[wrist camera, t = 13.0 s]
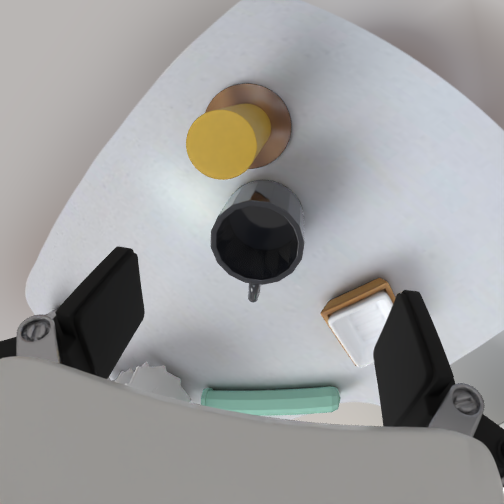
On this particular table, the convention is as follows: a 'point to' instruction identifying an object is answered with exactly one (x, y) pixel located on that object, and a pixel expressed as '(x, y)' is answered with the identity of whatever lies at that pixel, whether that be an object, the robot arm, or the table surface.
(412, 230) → the table surface
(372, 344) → the soap dish
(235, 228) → the mug
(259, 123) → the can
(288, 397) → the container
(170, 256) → the table surface
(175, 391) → the spiral staircase
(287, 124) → the coaster
